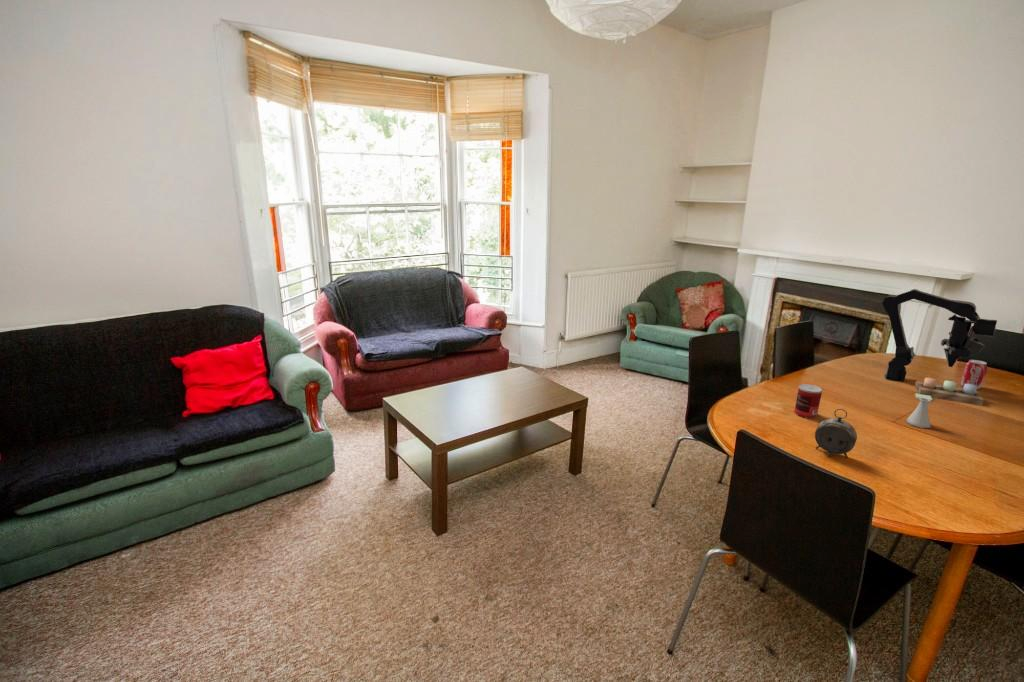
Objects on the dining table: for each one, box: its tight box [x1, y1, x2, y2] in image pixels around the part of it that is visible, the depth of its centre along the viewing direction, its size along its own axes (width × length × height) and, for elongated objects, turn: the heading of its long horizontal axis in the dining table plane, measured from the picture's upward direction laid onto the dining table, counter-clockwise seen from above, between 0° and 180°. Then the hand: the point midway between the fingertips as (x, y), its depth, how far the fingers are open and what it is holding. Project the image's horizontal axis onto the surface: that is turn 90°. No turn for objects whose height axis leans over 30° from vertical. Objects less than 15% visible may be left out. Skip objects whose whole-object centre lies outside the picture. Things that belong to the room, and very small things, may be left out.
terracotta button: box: [923, 377, 938, 389], centre depth 209 cm, size 4×4×4 cm
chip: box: [914, 392, 933, 402], centre depth 204 cm, size 5×5×1 cm
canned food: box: [793, 383, 823, 419], centre depth 186 cm, size 8×8×11 cm
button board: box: [914, 380, 984, 406], centre depth 207 cm, size 20×12×2 cm, turn 59°
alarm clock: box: [814, 408, 858, 459], centre depth 156 cm, size 11×5×16 cm, turn 49°
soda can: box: [960, 359, 988, 390], centre depth 215 cm, size 7×7×12 cm
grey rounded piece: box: [962, 384, 978, 396], centre depth 203 cm, size 4×4×4 cm
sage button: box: [942, 380, 958, 392], centre depth 206 cm, size 4×4×4 cm
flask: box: [906, 398, 931, 429], centre depth 179 cm, size 7×7×10 cm
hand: (950, 366), depth 210 cm, fingers closed
